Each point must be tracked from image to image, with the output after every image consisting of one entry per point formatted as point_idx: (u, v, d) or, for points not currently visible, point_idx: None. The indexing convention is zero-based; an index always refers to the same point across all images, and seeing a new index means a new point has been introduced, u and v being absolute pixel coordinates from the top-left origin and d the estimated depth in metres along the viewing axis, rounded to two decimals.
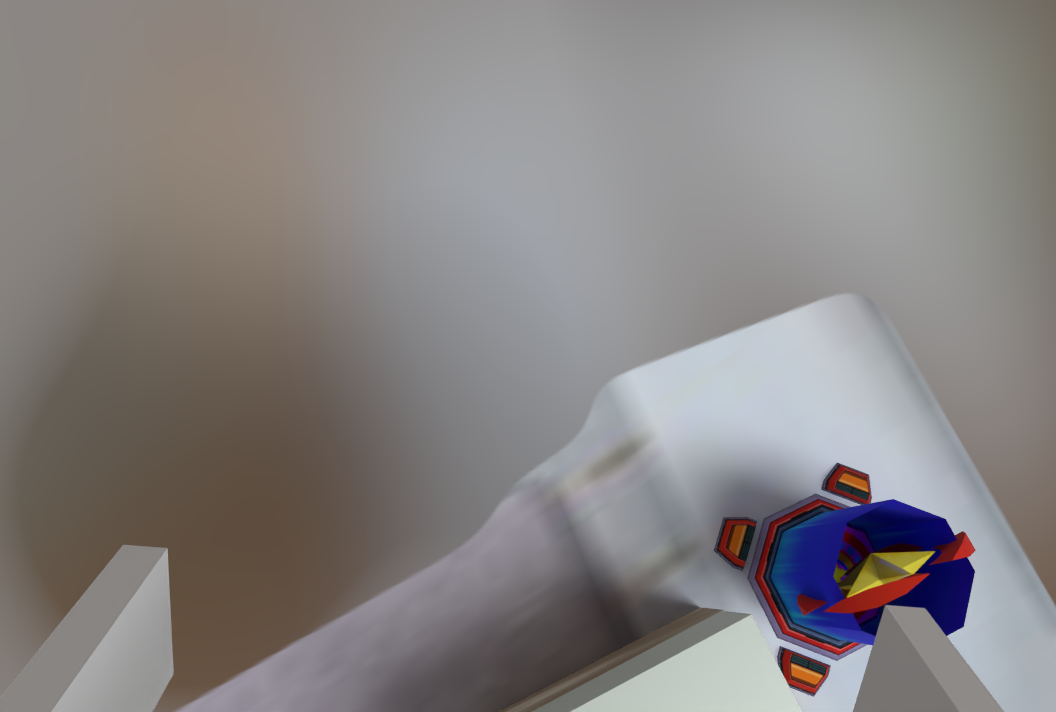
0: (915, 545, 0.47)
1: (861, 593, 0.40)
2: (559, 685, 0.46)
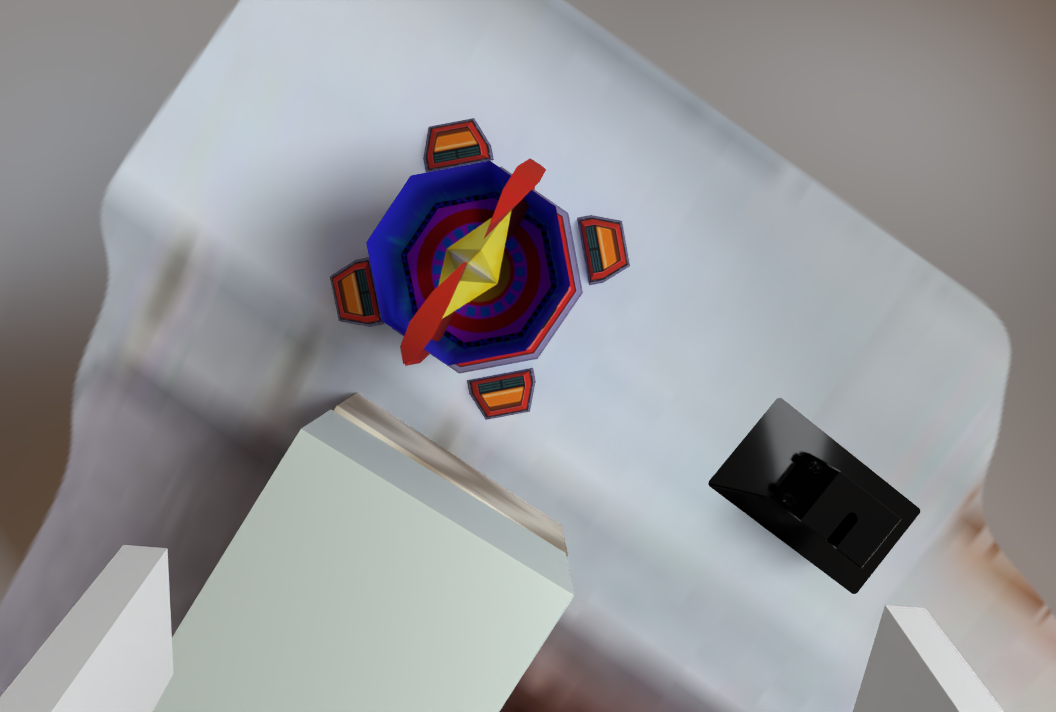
0: None
1: (408, 330, 0.29)
2: None
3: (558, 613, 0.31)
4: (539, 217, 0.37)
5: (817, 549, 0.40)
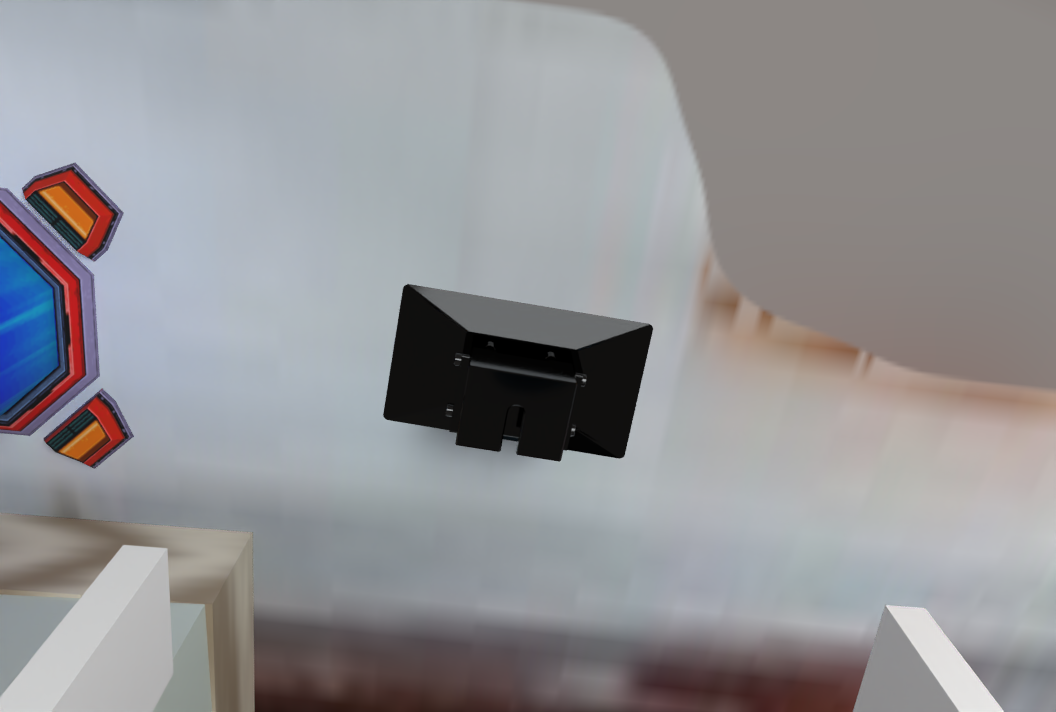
0: None
1: None
2: None
3: None
4: None
5: None
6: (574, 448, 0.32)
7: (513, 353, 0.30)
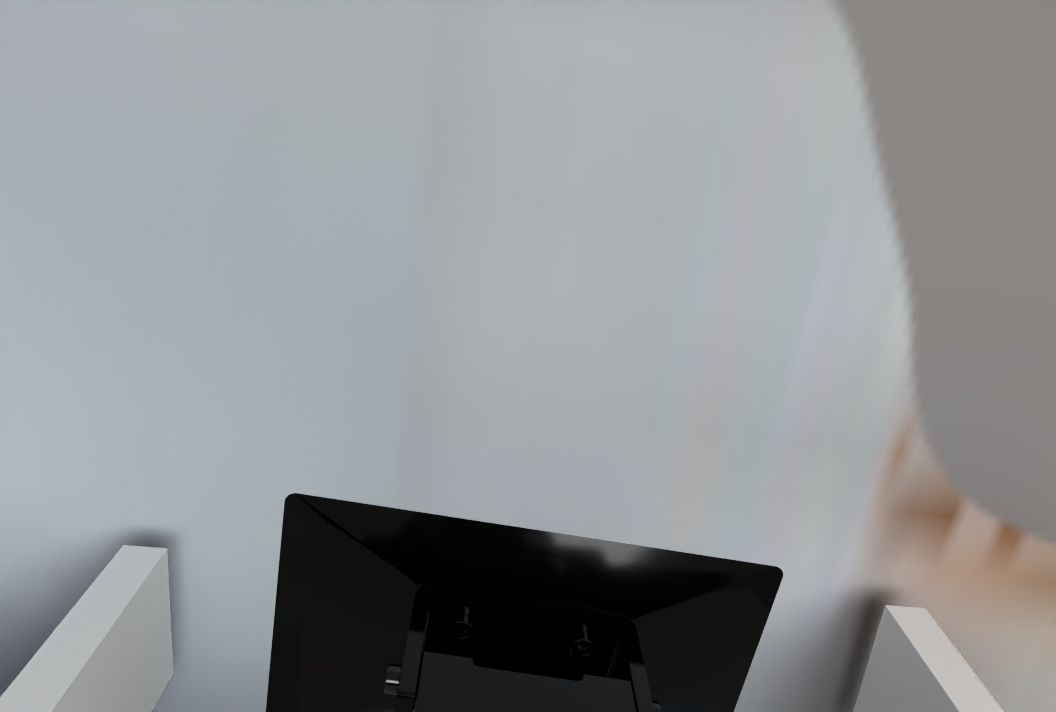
0: None
1: None
2: None
3: None
4: None
5: None
6: None
7: (509, 630, 0.15)
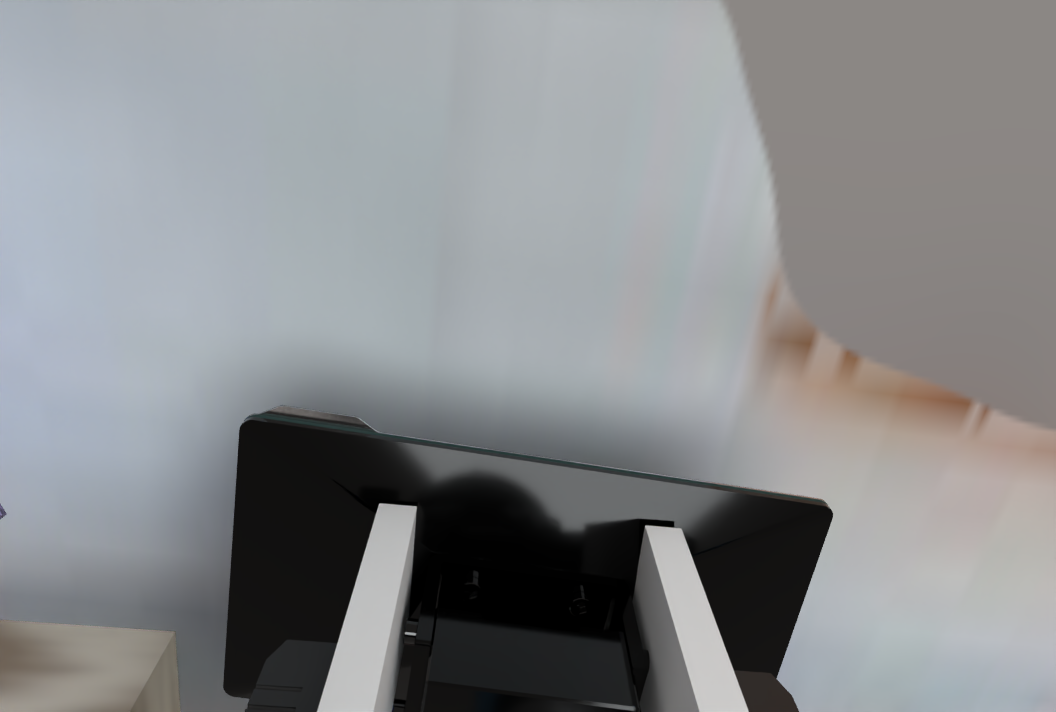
0: None
1: None
2: None
3: None
4: None
5: None
6: None
7: (514, 591, 0.17)
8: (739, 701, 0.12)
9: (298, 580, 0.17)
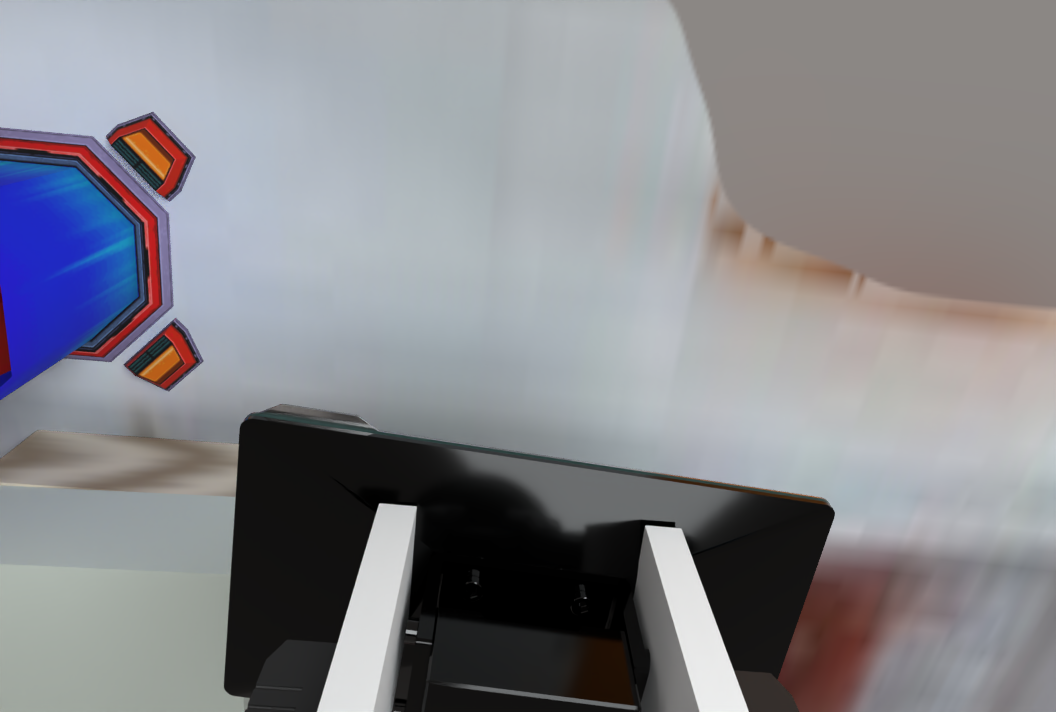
0: None
1: None
2: None
3: None
4: (37, 172, 0.30)
5: None
6: None
7: (515, 590, 0.17)
8: (739, 701, 0.12)
9: (298, 579, 0.17)
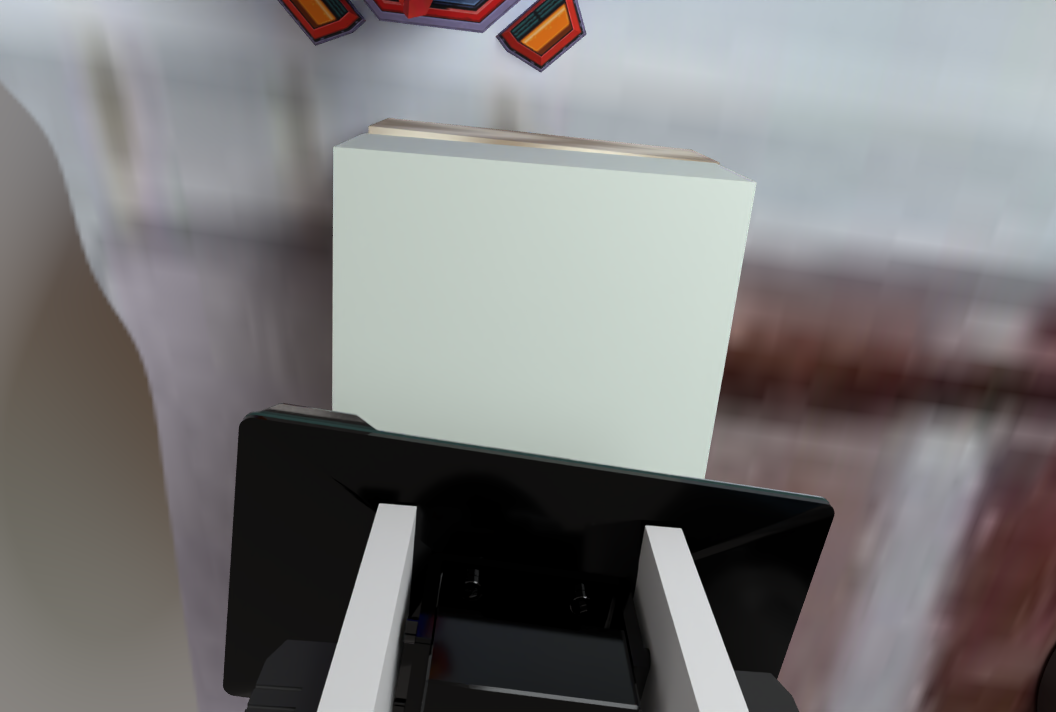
0: None
1: None
2: None
3: (746, 213, 0.23)
4: None
5: None
6: None
7: (514, 589, 0.17)
8: (739, 701, 0.12)
9: (298, 578, 0.17)
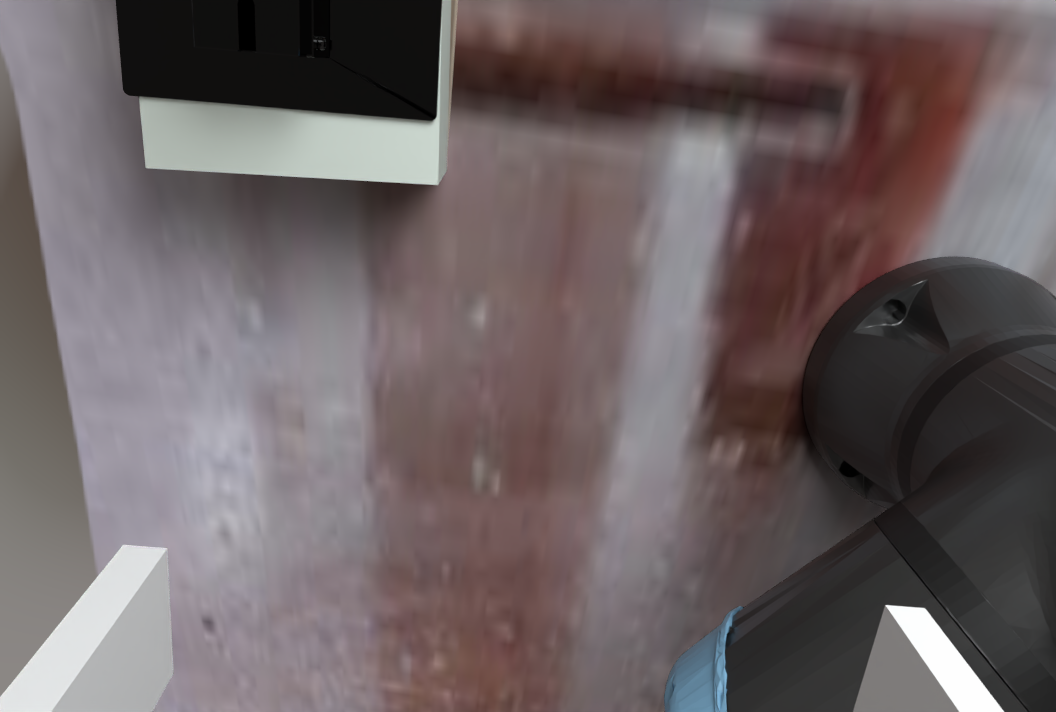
0: None
1: None
2: None
3: None
4: None
5: (316, 72, 0.32)
6: (351, 93, 0.32)
7: None
8: None
9: (152, 1, 0.31)
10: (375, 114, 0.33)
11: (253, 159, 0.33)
